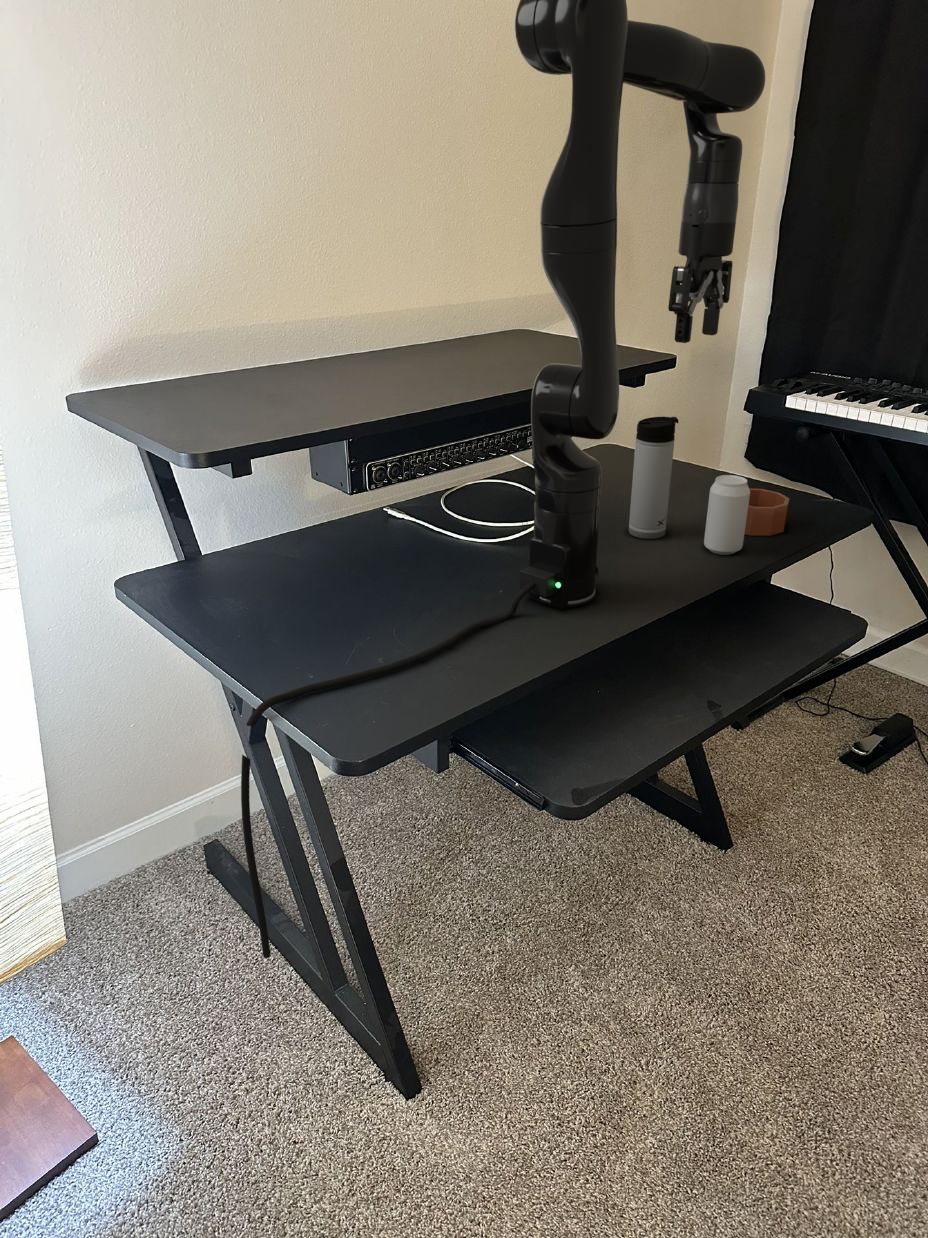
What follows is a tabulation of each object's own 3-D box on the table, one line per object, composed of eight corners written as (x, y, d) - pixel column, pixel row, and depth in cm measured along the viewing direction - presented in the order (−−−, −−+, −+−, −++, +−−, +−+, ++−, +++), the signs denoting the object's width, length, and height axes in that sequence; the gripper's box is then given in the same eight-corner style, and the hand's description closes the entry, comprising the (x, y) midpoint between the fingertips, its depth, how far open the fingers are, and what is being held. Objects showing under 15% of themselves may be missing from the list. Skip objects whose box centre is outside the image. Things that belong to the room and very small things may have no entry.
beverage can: (716, 539, 152) (724, 471, 146) (749, 549, 148) (759, 479, 142) (695, 549, 148) (703, 479, 143) (729, 559, 144) (738, 488, 139)
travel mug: (670, 539, 152) (682, 422, 143) (631, 539, 152) (640, 422, 143) (663, 526, 158) (674, 413, 149) (626, 526, 158) (634, 413, 149)
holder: (771, 540, 151) (775, 512, 149) (711, 526, 158) (714, 499, 155) (795, 523, 158) (799, 496, 156) (737, 510, 165) (740, 484, 162)
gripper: (707, 216, 133) (695, 330, 140) (659, 220, 123) (649, 342, 130) (755, 217, 129) (740, 334, 136) (709, 221, 119) (696, 347, 126)
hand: (696, 338), depth 133 cm, fingers open, 8 cm apart
